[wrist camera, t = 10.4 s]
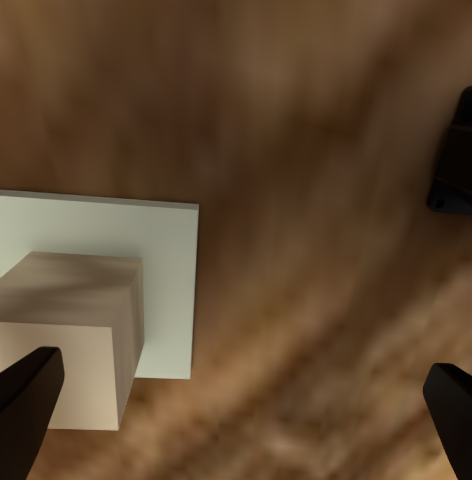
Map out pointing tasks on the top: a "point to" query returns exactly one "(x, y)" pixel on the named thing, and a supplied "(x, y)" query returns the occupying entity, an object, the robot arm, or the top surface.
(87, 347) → the birch cube
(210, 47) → the top surface
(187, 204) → the sage board
